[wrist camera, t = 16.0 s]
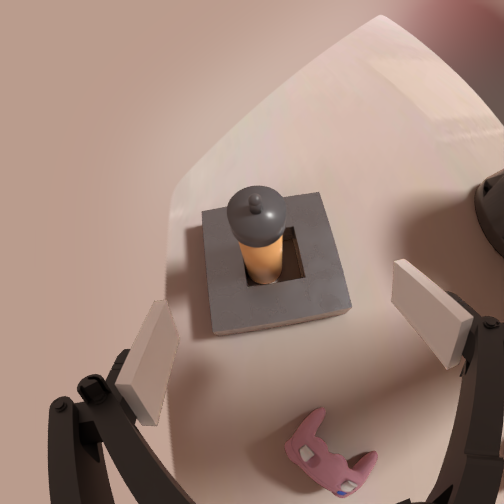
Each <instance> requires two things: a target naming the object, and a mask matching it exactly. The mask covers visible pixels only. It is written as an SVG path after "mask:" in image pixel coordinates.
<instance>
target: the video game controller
mask: <svg viewBox="0 0 504 504" xmlns="http://www.w3.org/2000/svg"><path fill="white" fill-rule="evenodd" d="M325 413H326V410H325V408H323V407H321V408H317V409H316V410H314V411H313V412H312V413H310V414H309V415H308V416H307V417H306V418H305V420H304V421H303V422H302V423H301V425H300V426H299V427H298V429H297V430H296V432H295V433H294V435H293V436H292V437H291V439H289V440H288V441H287V442H286V443H285V451H286V454H287V456H288V458H289V459H290V460H291V461H292V462H293V463H295V464H296V465H298V466H300V467H301V469H302V470H303V471H304V472H305V473H306V474H307V475H308V476H309V477H310V478H312V479H313V480H314V481H315V482H316V483H318V484H319V485H321V486H322V487H324V488H326V489H327V490H329V491H331V492H332V493H333V494H334V495H335V496H337V497H340V498H345V497H347V496H349V495H351V494H352V493H354V492H356V491H357V490H358V489H359V488H360V487H361V486H362V485H363V484H364V482H365V481H366V479H367V477H368V476H369V474H370V472H371V471H372V469H373V467H374V465H375V464H376V461H377V458H378V454H377V452H376V451H371V452H369V453H368V454H366V455H365V456H363V457H362V458H361V459H360V460H359V461H358V462H357V463H356V464H355V465H354V467H353V468H352V469H350V468H348V464H347V461H346V459H345V458H344V457H343V456H342V455H340V454H332V453H330V452H328V447H327V445H326V443H325V442H324V441H323V440H322V439H321V438H319V437H315V434H316V432H317V429H318V427H319V426H320V424H321V422H322V421H323V419H324V417H325Z"/></svg>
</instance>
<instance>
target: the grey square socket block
mask: <svg viewBox="0 0 504 504" xmlns="http://www.w3.org/2000/svg"><path fill="white" fill-rule="evenodd" d="M283 199H284V201H285V204H286V227H285V231H284V233H283V234H282V240H287V239H293V243H294V247H295V251H296V256H297V260H298V264H299V269H300V273H301V278H300V279H295V280H289V281H283V282H278V283H272V284H266V285H260V286H254V287H249V286H248V279H247V273H246V266H245V262H244V259H243V256H242V252H241V249H240V245H239V242H238V240H237V239H236V238H235V237H234V235H233V233H232V231H231V228H230V224H229V221H228V218H227V207H223V208H217V209H212V210H207V211H202V224H203V238H204V250H205V262H206V273H207V283H208V293H209V303H210V312H211V321H212V330H213V333H215V334H216V335H218V336H223V335H230V334H237V333H244V332H251V331H257V330H263V329H269V328H275V327H281V326H286V325H292V324H297V323H302V322H308V321H313V320H318V319H322V318H327V317H332V316H337V315H341V314H345V313H347V312H348V311H349V310H350V309H351V308H352V305H351V300H350V296H349V292H348V288H347V285H346V281H345V277H344V273H343V269H342V266H341V262H340V259H339V255H338V251H337V248H336V244H335V241H334V238H333V234H332V231H331V228H330V224H329V221H328V218H327V215H326V212H325V209H324V205H323V202H322V199H321V196H320V193H319V192H316V193H309V194H302V195H295V196H289V197H283Z"/></svg>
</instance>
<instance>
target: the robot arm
mask: <svg viewBox="0 0 504 504" xmlns="http://www.w3.org/2000/svg"><path fill="white" fill-rule="evenodd" d="M475 208H476V213H477V216H478V220H479V222H480V225H481V227H482V229H483V231H484V233H485V235H486V237H487V238H488V240H489V241H490V243H491V244H492V245H493V247H494V248H495V249H496V250H497V251H498V252H499V253H500V254H501V255H502V256H503V257H504V169H502V170H500V171H499V172H497V173H495V174H493V175H491V176H489V177H487V178H486V179H485V180H484V181H483V182H482V184H481V185H480V186H479V187H478V189H477V191H476V194H475ZM391 302H392V303H393V304H394V305H395V306H396V308H397V309H398V310H399V311H400V312H401V313H402V315H403V316H404V317H405V318H406V319H407V321H408V322H409V323H410V324H411V325H412V327H413V328H414V329H415V330H416V331H417V333H418V334H419V335H420V336H421V338H422V339H423V340H424V341H425V343H426V344H427V345H428V346H429V348H430V349H431V350H432V351H433V353H434V354H435V355H436V356H437V358H438V359H439V360H440V362H441V363H442V364H443V366H444V367H445V368H446V370H448V369H450V368H452V367H454V366H457V365H459V362H460V359H461V356H462V355H463V356H464V358H465V359H466V361H465V364H464V366H463V369H462V371H461V374H460V376H461V377H462V374H463V377H462V384H461V390H460V396H459V402H458V407H457V412H456V417H455V421H454V425H453V430H452V434H451V437H450V441H449V445H448V448H447V452H446V455H445V458H444V462H443V465H442V468H441V471H440V473H439V476H438V479H437V482H436V484H435V486H434V488H433V490H432V491H431V493H430V494H429V496H428V498H427V500H426V502H415V503H411V501H410V498H409V499H407V500H404V501H402V502H399V503H397V504H495V502H496V498H497V494H498V491H499V486H500V482H501V478H502V473H503V468H504V459H503V458H501V457H499V450H500V444H501V436H502V427H503V416H504V323H500V322H499V320H497V319H496V318H494V317H490V316H485V317H481V316H480V315H479V314H478V313H477V312H476V311H475V310H473V309H472V308H471V307H470V306H469V305H467V303H465V302H464V301H462V299H461V298H460V297H458V296H457V295H456V294H453V293H451V292H449V291H447V292H445V291H444V290H442V289H441V288H440V287H439V286H438V285H436V284H435V283H434V282H433V281H432V280H430V279H429V278H428V277H427V276H426V275H424V274H423V273H422V272H421V271H419V270H418V269H417V268H416V267H414V266H413V265H412V264H411V263H409V262H408V261H407V260H405V259H401V260H396V261H394V267H393V285H392V298H391ZM179 341H180V337H179V334H178V331H177V329H176V326H175V323H174V320H173V317H172V314H171V311H170V308H169V305H168V302H167V300H160V301H154V303H153V305H152V307H151V309H150V311H149V313H148V315H147V317H146V319H145V321H144V323H143V325H142V327H141V329H140V331H139V333H138V335H137V337H136V339H135V341H134V343H133V345H132V347H131V349H124V350H123V351H122V352H121V353H120V354H119V355H118V356H117V358H116V360H115V362H114V365H113V366H112V370H111V371H110V373H109V375H108V377H107V379H106V381H105V380H104V378H103V377H102V376H101V375H98V374H93V375H89V376H87V377H85V378H84V379H82V380H81V381H80V383H79V384H78V387H77V391H78V393H79V394H80V396H81V397H82V399H83V400H84V401H85V402H80V403H74V402H73V401H72V400H71V399H70V398H69V397H66V396H64V397H59V398H57V399H56V400H54V401H53V403H52V404H51V405H50V409H49V423H48V475H49V490H50V500H51V504H115V503H114V499H113V496H112V492H111V487H110V483H109V479H108V474H107V470H106V465H105V460H104V454H103V448H102V442H104V444H105V446H106V448H107V450H108V452H109V454H110V456H111V458H112V460H113V462H114V464H115V465H116V467H117V469H118V471H119V473H120V475H121V476H122V478H123V479H124V481H125V483H126V485H127V486H128V488H129V489H130V491H131V493H132V494H133V496H134V497H135V499H136V501H137V502H138V503H139V504H196V503H195V502H194V501H193V500H192V499H191V498H190V497H189V495H188V494H187V493H186V492H185V491H184V490H183V489H182V487H181V486H180V485H179V484H178V483H177V481H176V480H175V479H174V478H173V477H172V476H171V474H170V473H169V472H168V470H166V468H165V467H164V465H163V464H162V463H161V461H160V460H159V459H158V457H157V456H156V455H155V453H154V452H153V450H152V449H151V448H150V446H149V445H148V443H147V442H146V441H145V439H144V438H143V436H142V435H141V433H140V432H139V430H138V429H137V427H136V426H135V422H136V419H138V420H139V422H140V423H141V425H144V426H145V425H146V426H157V425H158V421H159V417H160V413H161V409H162V405H163V401H164V397H165V393H166V389H167V385H168V381H169V377H170V374H171V370H172V366H173V362H174V359H175V355H176V352H177V348H178V344H179Z"/></svg>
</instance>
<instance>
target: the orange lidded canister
mask: <svg viewBox="0 0 504 504" xmlns="http://www.w3.org/2000/svg"><path fill="white" fill-rule="evenodd" d="M227 218H228V221H229V224H230V228H231V231H232V233H233V235H234V237H235V238H236V239H237V240H238V242H239V245H240V249H241V252H242V256H243V259H244V262H245V266H246V269H247V273H248V275H249V277H250V278H251V279H252V280H253V281H254V282H256V283H259V284H269V283H272V282H274V281H275V280H276V279H277V278H278V277H279V276H280V274H281V271H282V234H283V233H284V231H285V227H286V204H285V201H284V199H283V197H282V196H281V195H280V194H279V193H278V192H277V191H275V190H274V189H271V188H269V187H265V186H250V187H247V188H244V189H242V190H240V191H238V192H237V193H236V194H235V195H234V196H233V197H232V198H231V199H230V201H229V203H228V206H227Z"/></svg>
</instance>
